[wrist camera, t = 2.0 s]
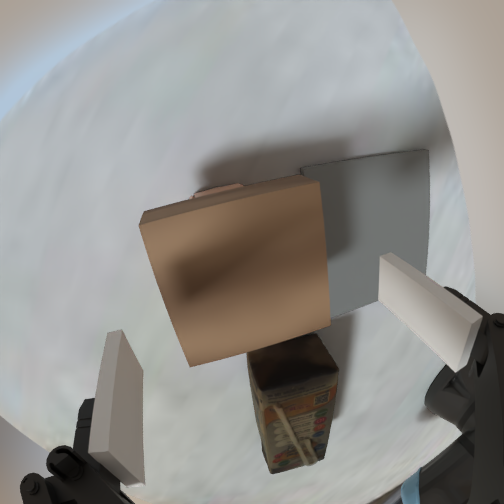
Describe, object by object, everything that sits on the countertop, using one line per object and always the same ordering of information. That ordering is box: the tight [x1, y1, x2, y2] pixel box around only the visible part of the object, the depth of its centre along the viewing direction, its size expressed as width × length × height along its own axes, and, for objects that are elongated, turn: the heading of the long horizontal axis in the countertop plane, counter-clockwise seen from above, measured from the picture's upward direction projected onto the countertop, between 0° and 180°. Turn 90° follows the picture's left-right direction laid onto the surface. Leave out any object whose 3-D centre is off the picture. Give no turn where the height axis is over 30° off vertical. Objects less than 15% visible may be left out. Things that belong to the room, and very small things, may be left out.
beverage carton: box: [247, 334, 339, 474], centre depth 31 cm, size 8×19×7 cm, turn 6°
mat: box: [301, 149, 430, 318], centre depth 28 cm, size 15×14×1 cm
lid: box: [139, 175, 331, 367], centre depth 19 cm, size 10×10×3 cm
